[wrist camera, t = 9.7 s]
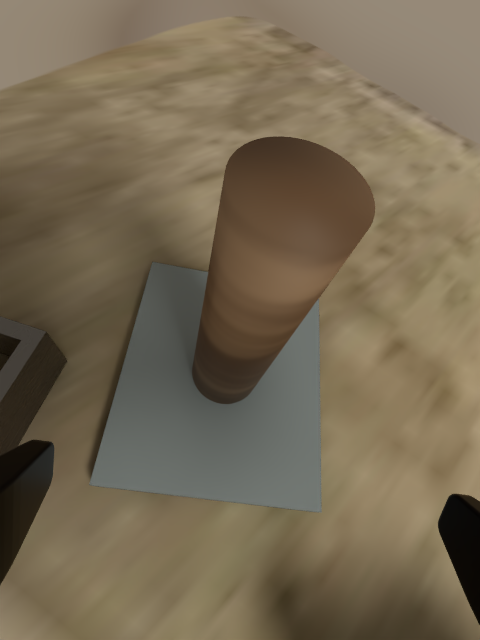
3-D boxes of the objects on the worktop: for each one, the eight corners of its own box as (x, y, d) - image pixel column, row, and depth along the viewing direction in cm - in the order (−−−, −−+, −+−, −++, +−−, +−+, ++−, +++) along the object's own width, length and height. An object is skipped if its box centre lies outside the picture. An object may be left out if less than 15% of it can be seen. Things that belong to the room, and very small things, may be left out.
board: (314, 512, 19) (321, 512, 18) (92, 485, 18) (89, 485, 17) (313, 299, 26) (318, 292, 25) (153, 270, 25) (152, 261, 24)
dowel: (227, 418, 20) (322, 278, 8) (178, 371, 20) (190, 176, 8) (270, 370, 22) (400, 196, 9) (222, 329, 22) (286, 119, 10)
